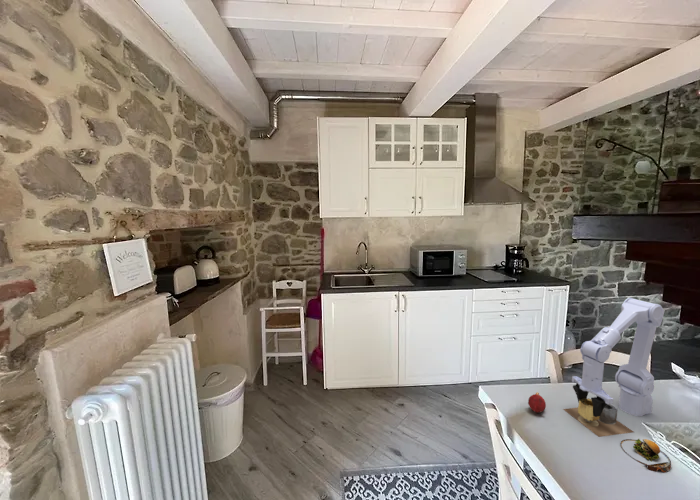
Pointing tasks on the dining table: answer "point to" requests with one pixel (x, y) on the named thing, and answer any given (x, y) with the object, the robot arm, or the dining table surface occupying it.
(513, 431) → the dining table surface
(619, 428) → the gear board
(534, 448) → the dining table surface
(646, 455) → the burger
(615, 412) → the grey stone pot
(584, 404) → the yellow porous cube
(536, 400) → the red christmas ornament
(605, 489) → the dining table surface
